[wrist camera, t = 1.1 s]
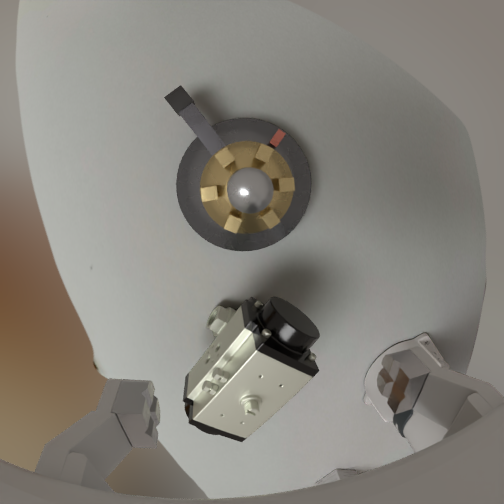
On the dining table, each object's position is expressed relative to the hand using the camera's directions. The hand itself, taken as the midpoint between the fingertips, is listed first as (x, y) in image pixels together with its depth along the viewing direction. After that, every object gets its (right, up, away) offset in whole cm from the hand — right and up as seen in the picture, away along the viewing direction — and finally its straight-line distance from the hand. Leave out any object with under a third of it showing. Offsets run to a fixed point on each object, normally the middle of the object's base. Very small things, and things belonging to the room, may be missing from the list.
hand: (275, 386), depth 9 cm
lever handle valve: (-4, +15, +23) cm, 28 cm away
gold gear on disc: (-2, +13, +28) cm, 31 cm away
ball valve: (-3, -6, +33) cm, 34 cm away
